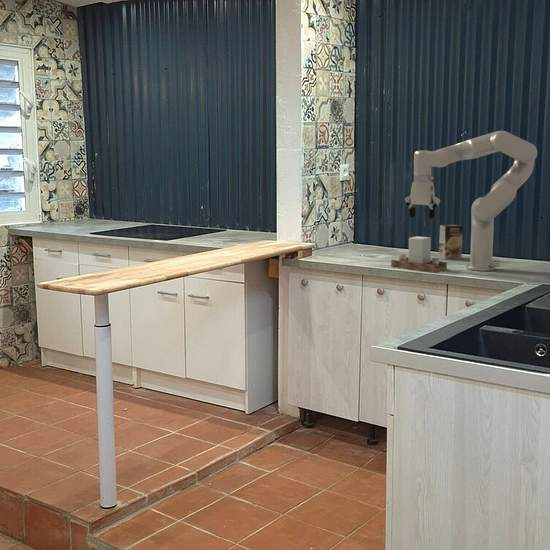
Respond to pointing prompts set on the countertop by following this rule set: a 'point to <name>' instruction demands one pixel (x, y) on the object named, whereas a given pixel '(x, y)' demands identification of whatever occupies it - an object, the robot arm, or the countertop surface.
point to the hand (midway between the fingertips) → (421, 217)
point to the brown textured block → (419, 264)
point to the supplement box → (419, 249)
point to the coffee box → (450, 241)
